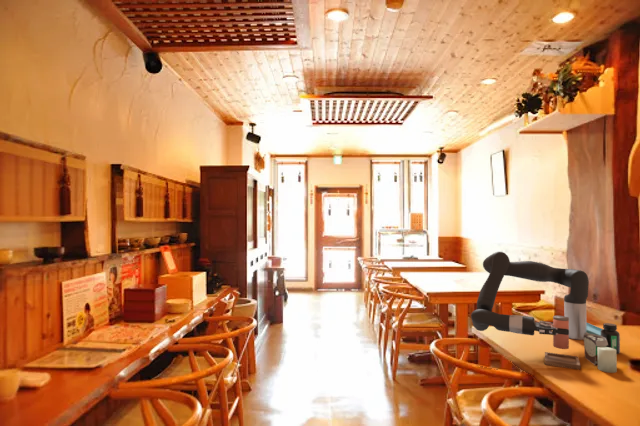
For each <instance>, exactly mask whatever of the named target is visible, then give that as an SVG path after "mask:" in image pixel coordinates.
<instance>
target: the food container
mask: <svg viewBox="0 0 640 426" xmlns="http://www.w3.org/2000/svg"><path fill="white" fill-rule="evenodd" d="M583 338H584V339H583V346H584V347H583V348H584V359H586V360H587V361H589V362H590V363H591V364H593V365H594V366H597V367H598V355H597V347H606V346H607V345H608V342H607V340H606V338H605V337H602V336H599V335H595V334H589V333H584V335H583Z"/></svg>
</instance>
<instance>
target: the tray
mask: <svg viewBox="0 0 640 426" xmlns="http://www.w3.org/2000/svg"><path fill="white" fill-rule="evenodd" d="M544 365H545V366H552V367H553V366H554V367H560V368H566V369H572V370H578V371H581V362H580V358H579V356H578V355H569V354H563V353H561V354H560V353H555V352H554V353H553V352H549V351H548V352H547V351H544Z"/></svg>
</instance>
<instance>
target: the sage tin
mask: <svg viewBox="0 0 640 426" xmlns="http://www.w3.org/2000/svg"><path fill="white" fill-rule="evenodd" d="M597 355H598V366H597V369H598V370H599V371H601V372H604V373H608V374H609V373H611V374H615V373H617V372H618V370H617V369H618V368H617V367H618V366H617V365H618V364H617V362H618V361H617V354H616V349H613V348H609V347H597Z"/></svg>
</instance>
